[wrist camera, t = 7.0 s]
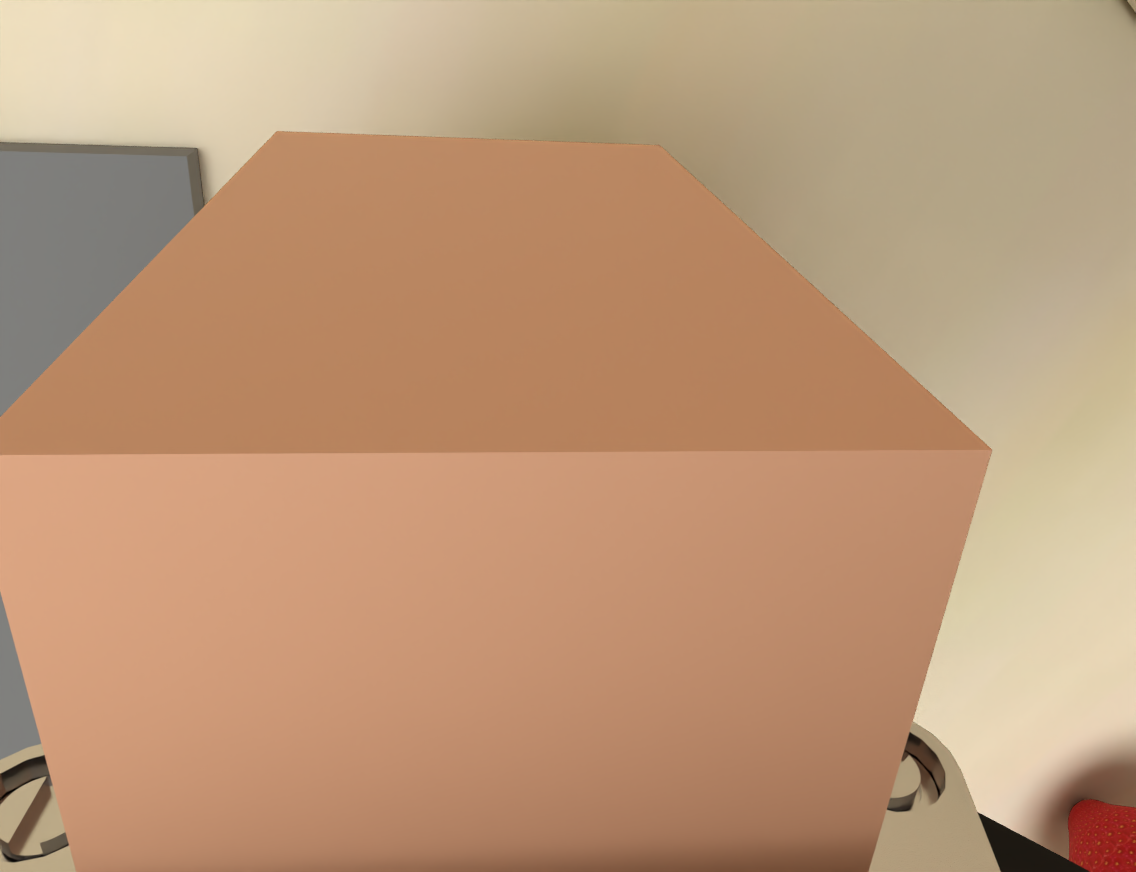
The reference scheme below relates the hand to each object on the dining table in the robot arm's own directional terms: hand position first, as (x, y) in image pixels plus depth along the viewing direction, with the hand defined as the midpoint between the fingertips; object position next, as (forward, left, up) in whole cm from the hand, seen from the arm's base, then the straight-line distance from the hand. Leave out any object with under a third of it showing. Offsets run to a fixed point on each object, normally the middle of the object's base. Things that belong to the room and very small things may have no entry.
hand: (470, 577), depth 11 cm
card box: (0, 0, -1) cm, 1 cm away
